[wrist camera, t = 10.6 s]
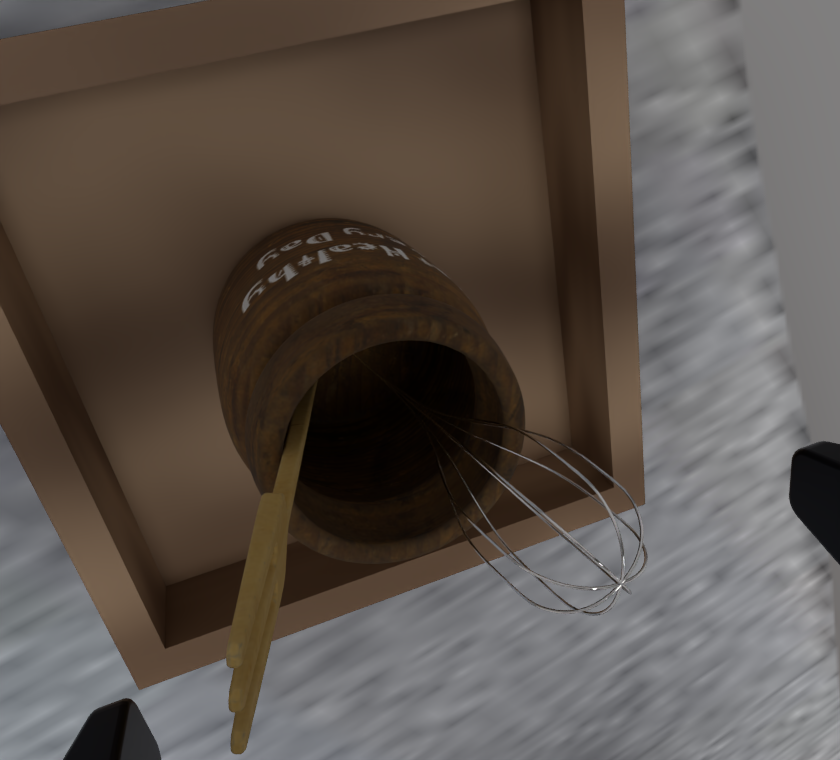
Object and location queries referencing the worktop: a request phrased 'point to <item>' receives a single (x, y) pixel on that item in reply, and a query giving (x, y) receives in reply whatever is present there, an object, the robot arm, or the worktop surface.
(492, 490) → the utensil holder
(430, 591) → the worktop surface
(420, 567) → the tray
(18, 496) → the worktop surface
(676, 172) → the worktop surface
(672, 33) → the worktop surface
